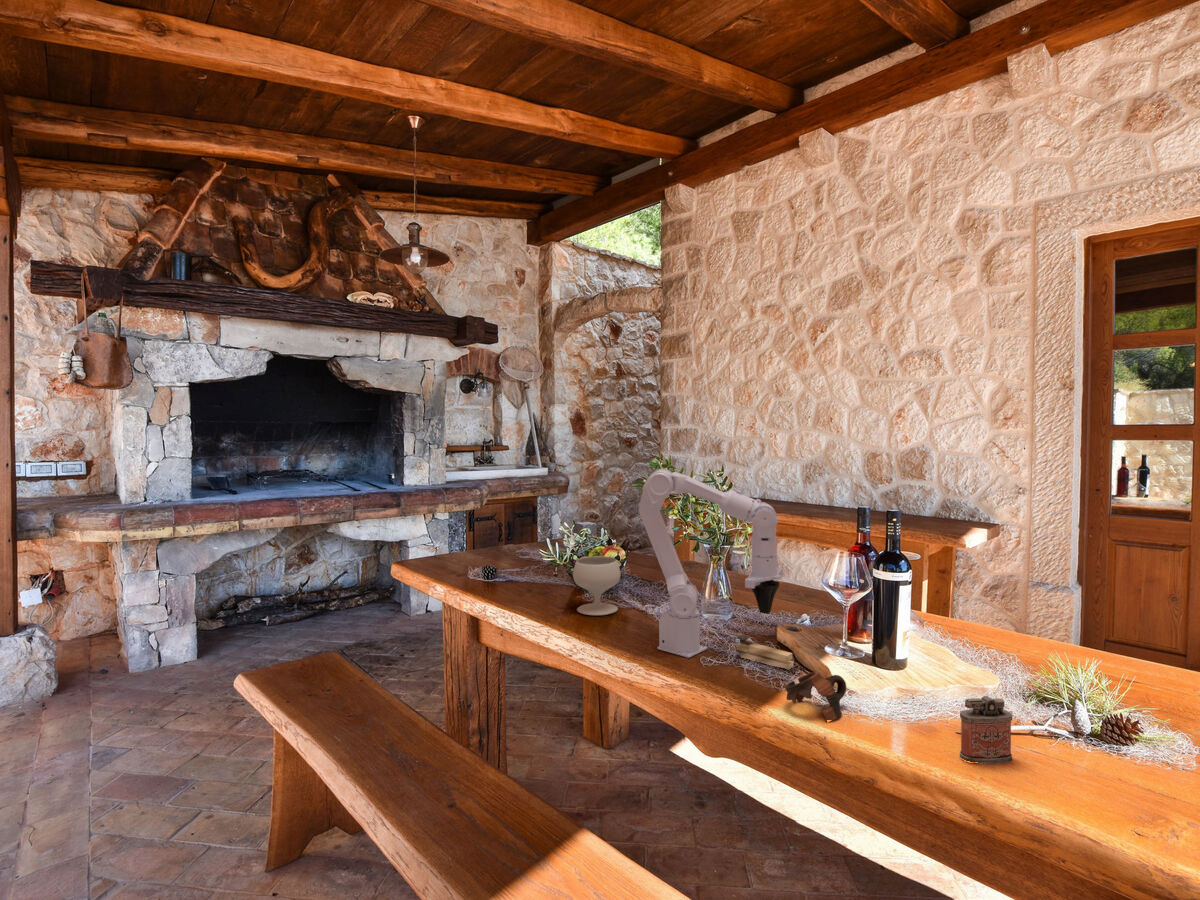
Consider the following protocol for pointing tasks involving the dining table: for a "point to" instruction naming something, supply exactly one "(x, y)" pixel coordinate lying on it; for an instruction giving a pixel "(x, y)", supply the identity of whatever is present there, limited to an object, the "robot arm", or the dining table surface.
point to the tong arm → (765, 651)
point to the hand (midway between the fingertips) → (764, 612)
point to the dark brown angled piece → (819, 691)
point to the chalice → (596, 581)
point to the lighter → (986, 731)
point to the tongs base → (762, 658)
